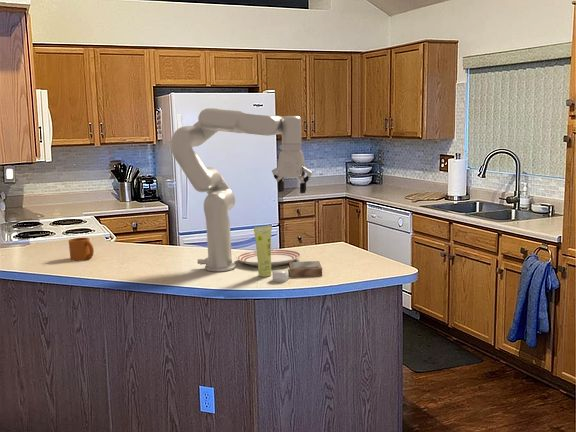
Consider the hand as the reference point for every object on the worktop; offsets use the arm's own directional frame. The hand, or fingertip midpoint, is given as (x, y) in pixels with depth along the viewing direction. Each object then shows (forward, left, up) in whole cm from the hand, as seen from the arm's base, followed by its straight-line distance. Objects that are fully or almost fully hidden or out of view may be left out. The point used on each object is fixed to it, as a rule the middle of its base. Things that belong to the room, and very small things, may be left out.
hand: (291, 192), depth 243 cm
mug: (-94, +37, -31) cm, 106 cm away
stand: (+4, -5, -31) cm, 32 cm away
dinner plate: (-10, +16, -32) cm, 37 cm away
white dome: (-6, -15, -31) cm, 35 cm away
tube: (-12, -7, -31) cm, 34 cm away
